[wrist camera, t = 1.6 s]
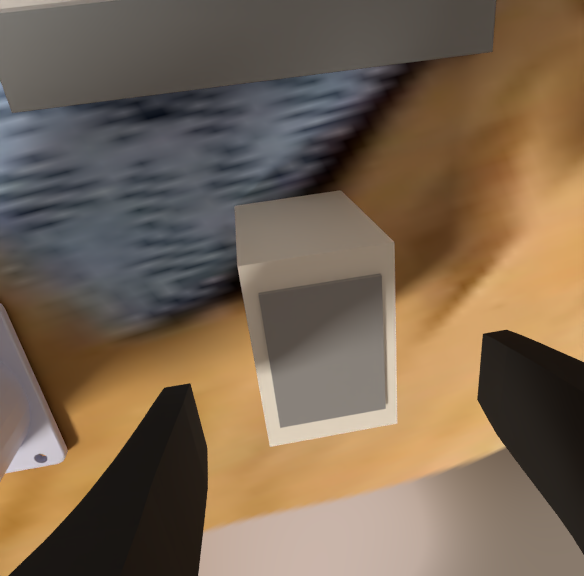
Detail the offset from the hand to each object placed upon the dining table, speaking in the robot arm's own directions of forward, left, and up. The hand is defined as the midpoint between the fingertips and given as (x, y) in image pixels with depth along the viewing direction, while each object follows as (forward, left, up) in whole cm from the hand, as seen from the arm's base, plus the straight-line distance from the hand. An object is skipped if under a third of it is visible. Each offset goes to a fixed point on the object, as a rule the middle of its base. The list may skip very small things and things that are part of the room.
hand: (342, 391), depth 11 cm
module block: (0, 0, -8) cm, 8 cm away
